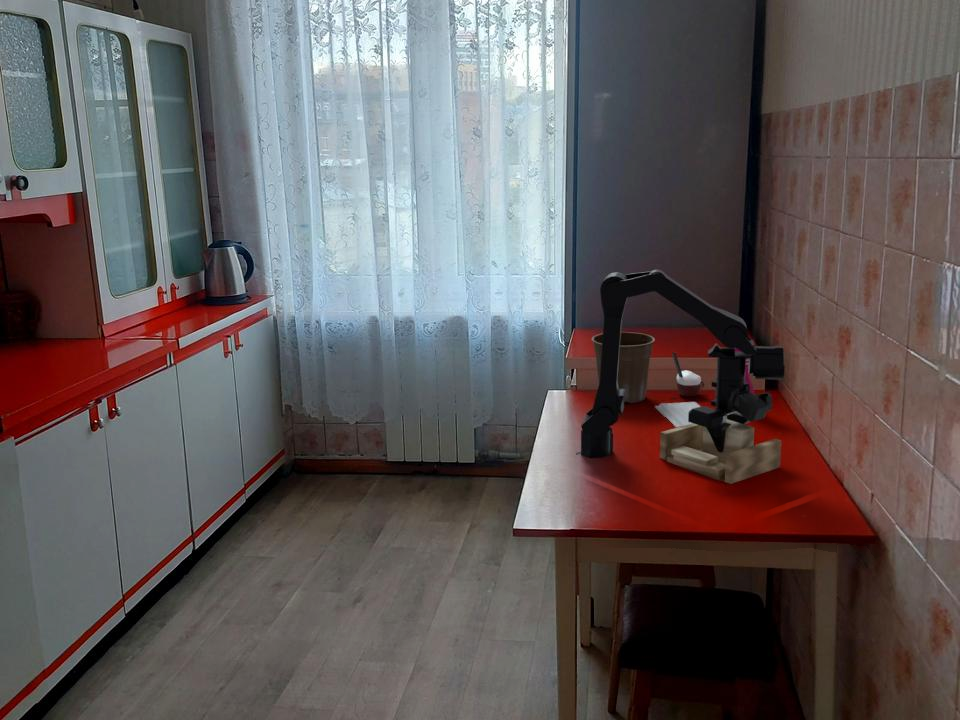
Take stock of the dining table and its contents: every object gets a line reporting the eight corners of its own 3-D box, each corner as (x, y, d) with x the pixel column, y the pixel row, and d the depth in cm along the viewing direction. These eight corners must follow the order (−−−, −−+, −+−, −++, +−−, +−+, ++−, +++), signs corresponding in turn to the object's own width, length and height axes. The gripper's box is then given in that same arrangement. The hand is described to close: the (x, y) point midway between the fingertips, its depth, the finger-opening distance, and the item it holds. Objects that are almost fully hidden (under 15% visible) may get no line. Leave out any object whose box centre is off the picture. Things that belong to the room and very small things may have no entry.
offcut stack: (718, 480, 182) (718, 466, 181) (666, 461, 193) (666, 448, 192) (732, 476, 184) (733, 461, 183) (680, 457, 195) (680, 444, 195)
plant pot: (638, 410, 232) (639, 347, 228) (580, 401, 241) (581, 341, 237) (662, 394, 246) (664, 335, 242) (607, 386, 254) (608, 329, 250)
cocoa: (702, 393, 247) (705, 349, 244) (706, 399, 241) (709, 354, 238) (666, 392, 247) (669, 348, 245) (669, 398, 241) (672, 353, 239)
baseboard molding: (688, 449, 204) (741, 447, 206) (689, 437, 204) (741, 434, 205) (649, 409, 234) (694, 407, 236) (649, 398, 234) (695, 396, 235)
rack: (730, 487, 180) (732, 456, 179) (659, 461, 196) (660, 432, 194) (779, 470, 189) (781, 440, 187) (708, 446, 204) (709, 418, 202)
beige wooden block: (739, 468, 188) (741, 431, 186) (702, 455, 196) (703, 419, 194) (752, 464, 190) (754, 427, 189) (714, 451, 198) (716, 416, 197)
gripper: (731, 393, 177) (727, 470, 181) (792, 378, 188) (787, 450, 192) (687, 382, 186) (685, 455, 190) (748, 367, 197) (744, 437, 200)
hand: (727, 449), depth 193 cm, fingers open, 4 cm apart
